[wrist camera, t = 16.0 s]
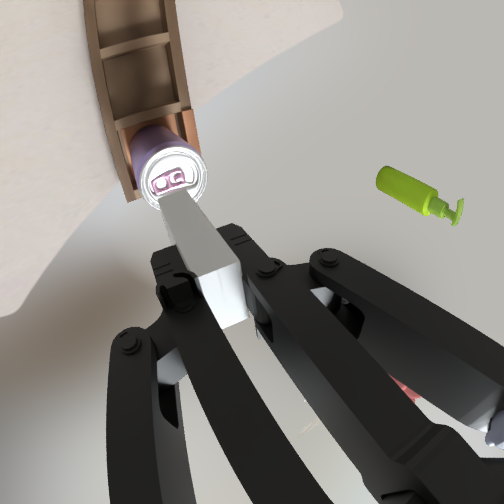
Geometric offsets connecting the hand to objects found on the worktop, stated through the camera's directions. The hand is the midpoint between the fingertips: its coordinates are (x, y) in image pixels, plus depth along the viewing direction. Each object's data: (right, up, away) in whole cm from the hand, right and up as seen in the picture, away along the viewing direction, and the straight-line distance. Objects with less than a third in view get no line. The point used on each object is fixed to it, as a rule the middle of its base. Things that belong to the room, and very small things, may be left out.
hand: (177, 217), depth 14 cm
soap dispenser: (+33, +15, +42) cm, 55 cm away
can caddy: (-10, +19, +14) cm, 26 cm away
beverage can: (-9, +12, +19) cm, 24 cm away
